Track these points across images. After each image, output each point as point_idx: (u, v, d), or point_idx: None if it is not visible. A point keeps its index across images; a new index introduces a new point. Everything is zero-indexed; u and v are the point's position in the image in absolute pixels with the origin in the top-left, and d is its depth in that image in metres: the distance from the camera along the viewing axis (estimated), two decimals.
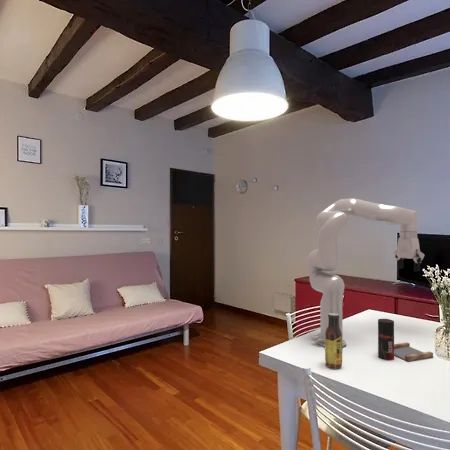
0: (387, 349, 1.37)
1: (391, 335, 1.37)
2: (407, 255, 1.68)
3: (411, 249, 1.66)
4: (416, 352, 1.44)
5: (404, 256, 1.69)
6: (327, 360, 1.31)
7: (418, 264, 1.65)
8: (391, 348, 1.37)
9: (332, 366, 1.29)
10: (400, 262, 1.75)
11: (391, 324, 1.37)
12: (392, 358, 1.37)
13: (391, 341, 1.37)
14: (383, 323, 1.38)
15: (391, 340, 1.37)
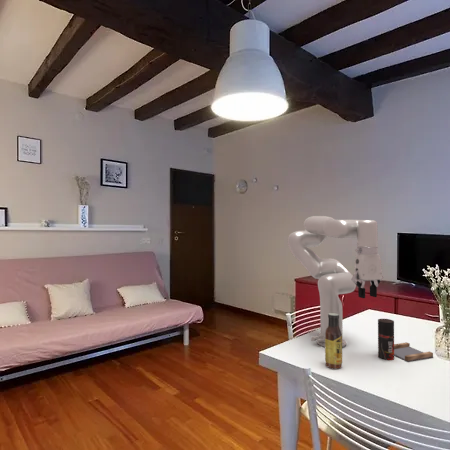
0: (387, 349, 1.37)
1: (391, 335, 1.37)
2: (376, 276, 1.35)
3: (380, 268, 1.36)
4: (416, 352, 1.44)
5: (373, 278, 1.34)
6: (327, 360, 1.31)
7: None
8: (391, 348, 1.37)
9: (332, 366, 1.29)
10: None
11: (391, 324, 1.37)
12: (392, 358, 1.37)
13: (391, 341, 1.37)
14: (383, 323, 1.38)
15: (391, 340, 1.37)
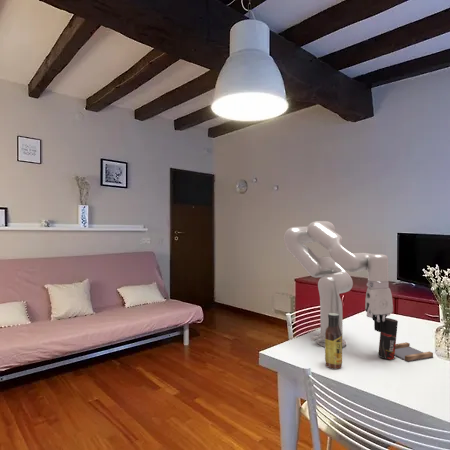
0: (388, 347, 1.37)
1: (394, 334, 1.37)
2: (387, 310, 1.36)
3: (391, 302, 1.37)
4: (416, 352, 1.44)
5: (384, 312, 1.36)
6: (327, 360, 1.31)
7: None
8: (392, 347, 1.37)
9: (332, 366, 1.29)
10: None
11: (395, 323, 1.38)
12: (392, 357, 1.37)
13: (393, 340, 1.37)
14: (387, 321, 1.38)
15: (393, 339, 1.37)
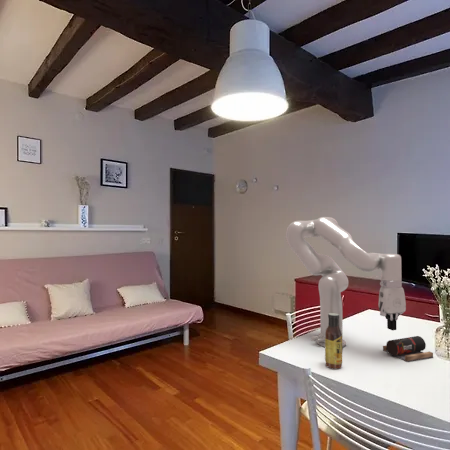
0: (405, 344, 1.40)
1: (416, 347, 1.42)
2: (400, 309, 1.39)
3: (404, 301, 1.40)
4: (416, 352, 1.44)
5: (397, 311, 1.38)
6: (327, 360, 1.31)
7: None
8: (406, 348, 1.40)
9: (332, 366, 1.29)
10: None
11: (424, 345, 1.43)
12: (398, 351, 1.38)
13: (411, 348, 1.41)
14: (421, 338, 1.44)
15: (412, 347, 1.41)
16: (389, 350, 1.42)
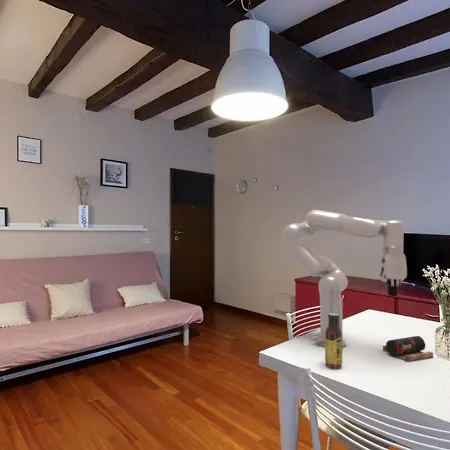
0: (404, 344, 1.40)
1: (415, 346, 1.42)
2: (402, 275, 1.39)
3: (405, 267, 1.40)
4: (416, 352, 1.44)
5: (398, 277, 1.39)
6: (327, 360, 1.31)
7: None
8: (406, 348, 1.40)
9: (332, 366, 1.29)
10: None
11: (423, 345, 1.43)
12: (398, 350, 1.39)
13: (411, 347, 1.41)
14: (420, 338, 1.45)
15: (412, 347, 1.41)
16: (388, 351, 1.42)
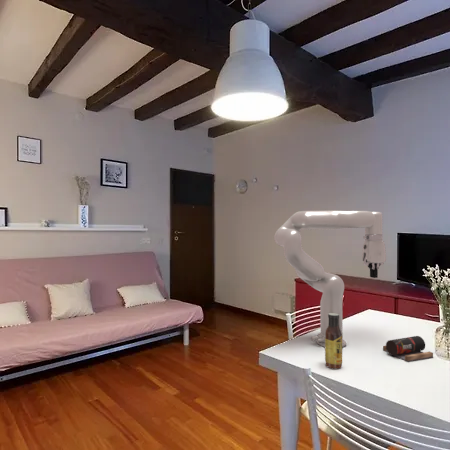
0: (404, 343, 1.40)
1: (415, 346, 1.42)
2: (381, 259, 1.59)
3: (384, 252, 1.60)
4: (416, 352, 1.44)
5: (378, 261, 1.59)
6: (327, 360, 1.31)
7: None
8: (406, 348, 1.40)
9: (332, 366, 1.29)
10: None
11: (423, 345, 1.43)
12: (398, 350, 1.39)
13: (411, 347, 1.41)
14: (420, 338, 1.45)
15: (412, 347, 1.41)
16: (388, 351, 1.42)
